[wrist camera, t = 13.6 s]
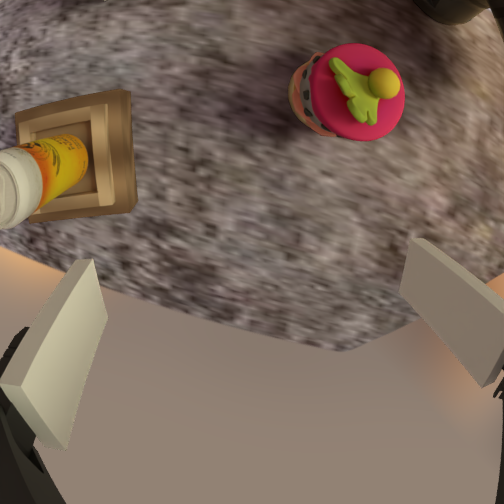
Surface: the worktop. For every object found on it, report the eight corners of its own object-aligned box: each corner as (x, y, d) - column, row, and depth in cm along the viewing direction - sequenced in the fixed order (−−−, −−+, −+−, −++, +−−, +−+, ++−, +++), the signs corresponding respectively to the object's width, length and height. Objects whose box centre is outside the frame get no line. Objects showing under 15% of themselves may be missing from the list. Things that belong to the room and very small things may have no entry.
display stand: (33, 111, 31) (8, 113, 25) (130, 91, 33) (116, 87, 27) (45, 211, 37) (24, 227, 31) (138, 200, 38) (126, 216, 33)
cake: (323, 41, 33) (382, 12, 19) (375, 99, 37) (448, 102, 23) (267, 92, 35) (303, 81, 22) (325, 150, 39) (383, 173, 26)
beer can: (91, 131, 29) (19, 151, 16) (91, 185, 32) (26, 235, 18) (45, 134, 28) (-37, 158, 15) (46, 186, 31) (-28, 234, 17)
